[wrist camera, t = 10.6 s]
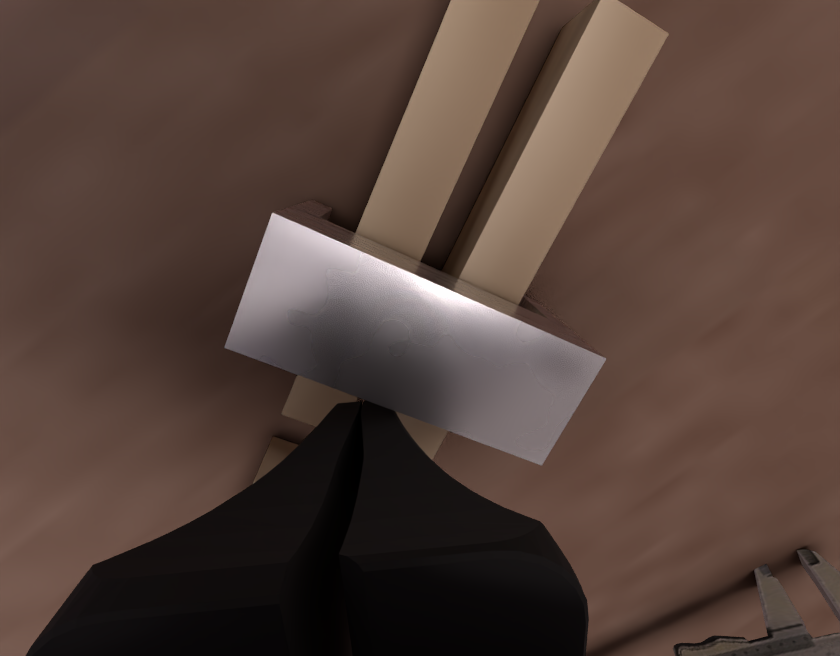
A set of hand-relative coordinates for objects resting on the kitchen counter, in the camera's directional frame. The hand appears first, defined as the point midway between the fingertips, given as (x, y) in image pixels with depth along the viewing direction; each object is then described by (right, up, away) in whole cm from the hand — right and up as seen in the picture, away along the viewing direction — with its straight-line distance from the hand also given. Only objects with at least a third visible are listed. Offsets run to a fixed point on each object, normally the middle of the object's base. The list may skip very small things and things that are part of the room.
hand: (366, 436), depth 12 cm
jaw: (+3, +4, +2) cm, 6 cm away
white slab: (+1, +4, +2) cm, 5 cm away
